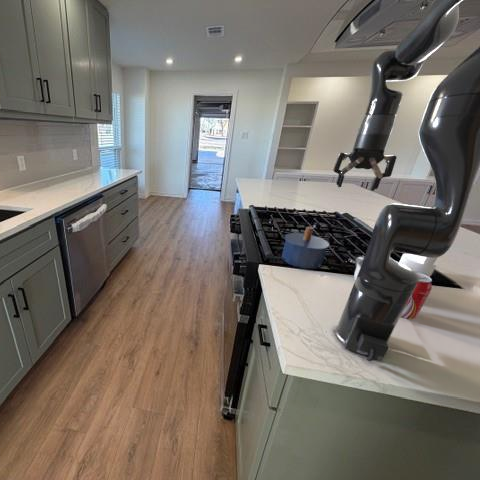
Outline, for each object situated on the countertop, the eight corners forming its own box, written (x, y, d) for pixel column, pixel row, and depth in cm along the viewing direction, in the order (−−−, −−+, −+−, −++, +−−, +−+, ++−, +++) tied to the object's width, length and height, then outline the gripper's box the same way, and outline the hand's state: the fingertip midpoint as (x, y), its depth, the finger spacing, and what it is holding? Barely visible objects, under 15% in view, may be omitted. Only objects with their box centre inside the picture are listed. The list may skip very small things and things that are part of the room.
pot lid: (329, 255, 86) (335, 238, 83) (283, 245, 92) (286, 229, 89) (327, 240, 97) (331, 225, 95) (285, 232, 104) (289, 218, 101)
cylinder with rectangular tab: (390, 266, 96) (403, 237, 91) (417, 269, 95) (432, 240, 90) (406, 278, 88) (421, 247, 83) (436, 282, 86) (453, 250, 82)
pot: (321, 274, 89) (328, 252, 86) (279, 264, 95) (285, 243, 92) (319, 258, 100) (326, 239, 97) (282, 250, 106) (287, 232, 103)
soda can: (376, 304, 74) (392, 268, 69) (400, 305, 74) (418, 269, 69) (396, 320, 68) (415, 282, 63) (422, 321, 67) (444, 283, 63)
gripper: (346, 131, 73) (329, 187, 80) (410, 133, 67) (386, 193, 74) (343, 132, 79) (328, 184, 86) (401, 133, 73) (380, 189, 80)
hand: (355, 188), depth 80 cm, fingers open, 8 cm apart
